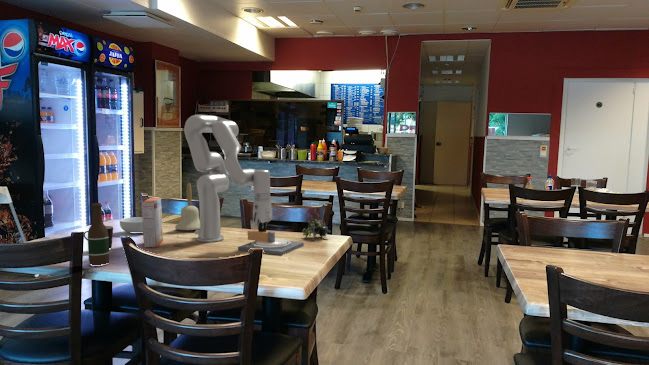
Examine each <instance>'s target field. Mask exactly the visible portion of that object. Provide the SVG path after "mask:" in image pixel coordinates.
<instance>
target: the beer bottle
mask: <svg viewBox="0 0 649 365" xmlns="http://www.w3.org/2000/svg"><path fill="white" fill-rule="evenodd" d="M102 206H103V205H102V203H101V202H95V203H92V204H91V208H92V218H91V220H92V221H91V225H90V226H89V228H88V230H87V231H88V232H87V239H88V241H87V250H88V251H87V252H88V264H92V265H101V264H106V263H109V264H110V251H109V236H108V231H107V228H106V227H105V226H106V225H105V224H104V221H103V212H102Z"/></svg>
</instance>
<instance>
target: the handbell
mask: <svg viewBox="0 0 649 365" xmlns="http://www.w3.org/2000/svg"><path fill="white" fill-rule="evenodd" d="M192 192H193V191H192V185H191V183H187V184H186V200H187V205H185V206H182V208H181V209H180V220H179V222H178V223H177V224H176V225H175V226H174V227H175V229H176V230H180V231H193V230H195V231H196V230H200V210H199V208H198V207H196V206H195V205H192V200H193V199H192V197H193V196H192V195H193V194H192Z"/></svg>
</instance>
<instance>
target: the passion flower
mask: <svg viewBox="0 0 649 365" xmlns="http://www.w3.org/2000/svg"><path fill="white" fill-rule="evenodd" d="M307 223H308V227H307V229H306V228H303V229H302V231H301V233H302V235H303V237H304V236H305V238H307V237H311V236H312V240H314V239H315V237H316V236H317V235H319V237H320V238H323V237H326V232H327V233H328V234H330V233H332V232H331V230H330V229H329V227H328V226H327V224H326V223H325V221H324V220H321V219H314V220H313V221H307ZM312 234H313V235H312Z"/></svg>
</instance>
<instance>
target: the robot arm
mask: <svg viewBox="0 0 649 365" xmlns="http://www.w3.org/2000/svg"><path fill="white" fill-rule="evenodd" d="M239 131H240V130H239V126H238V124H237V123H236V122H235V121H233V120H230V119H226V118H223V117H221V116H217V115H213V114H209V115H208V114H194V115H190V117H188V118H187V119H186V121H185V124H184V130H183V132H184V135H185V140H186V141H187V143H188V148H189V150H190V155H191V158H192V161H193V165H194V168H195V170H196V171H198V172H200V173H207V174H203V175H201V176H200V177H199V178H198V179H197V182H196V188H197V193H198V201H199V220H200V229H196V230H195V231H194V235H197V237H196V240H197V241H198V242H203V243H208V242H209V243H211V242H212V243H213V242H219V241H222V240H224V238H225V237H224V235H223V234H222V235H221V208H220V207H221V205H220V204H221V202H220V198H219V196H218V193H224V192H225V191H226V190H228V188H229V186H230V180H231V181H232V182H233V184H235V185H236V186H237V187H244V186H251V185H252V186H253V203H252V204H253V207H252V220H253V222H254V226H257V229H258V231H260V232H267V227H268V224H269V222H270V221H271V220H273V206H272V199H271V172H270V170H268V169H255V168H242V166H241V165H240V163H239V160H238V153H240V151H241V149H242V145H241V144H240V142H239V141H238V140H239V139H238V138H237V136H238V135H239ZM203 133H212V135H213V136H214V138H215V140H216V142H217V143H218V145H219V147H220V150H222V153H223V154H224V159H223V156H222V155H221V154H220V153H218V152H217V151H210V149H209V145H208V142H207V139H206V138H205V137H204V135H203Z"/></svg>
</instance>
